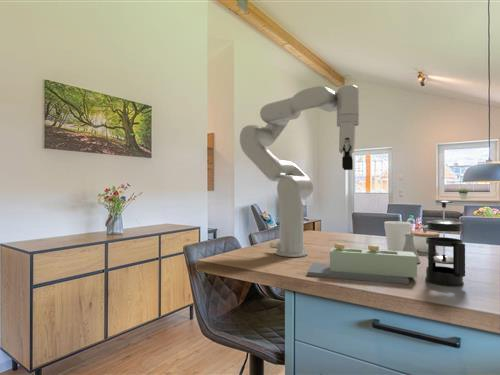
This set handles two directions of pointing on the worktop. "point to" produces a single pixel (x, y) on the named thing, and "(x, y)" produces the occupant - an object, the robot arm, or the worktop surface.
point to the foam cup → (396, 234)
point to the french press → (440, 273)
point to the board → (324, 271)
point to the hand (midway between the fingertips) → (347, 169)
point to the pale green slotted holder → (374, 262)
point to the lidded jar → (422, 239)
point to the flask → (410, 245)
